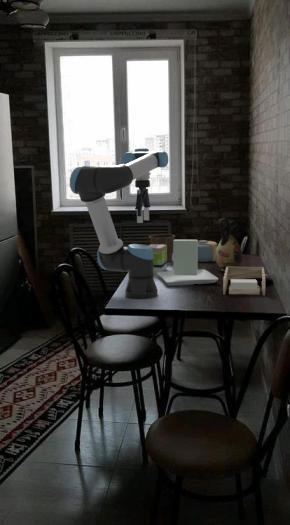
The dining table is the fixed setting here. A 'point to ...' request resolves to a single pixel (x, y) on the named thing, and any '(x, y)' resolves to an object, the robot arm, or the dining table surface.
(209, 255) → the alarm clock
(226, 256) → the ceramic jug
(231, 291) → the lower offcut
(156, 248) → the tea box
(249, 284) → the upper offcut
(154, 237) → the plant pot
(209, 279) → the square plate
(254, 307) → the dining table surface
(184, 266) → the tall panel
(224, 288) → the frame
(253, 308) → the dining table surface
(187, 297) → the dining table surface
